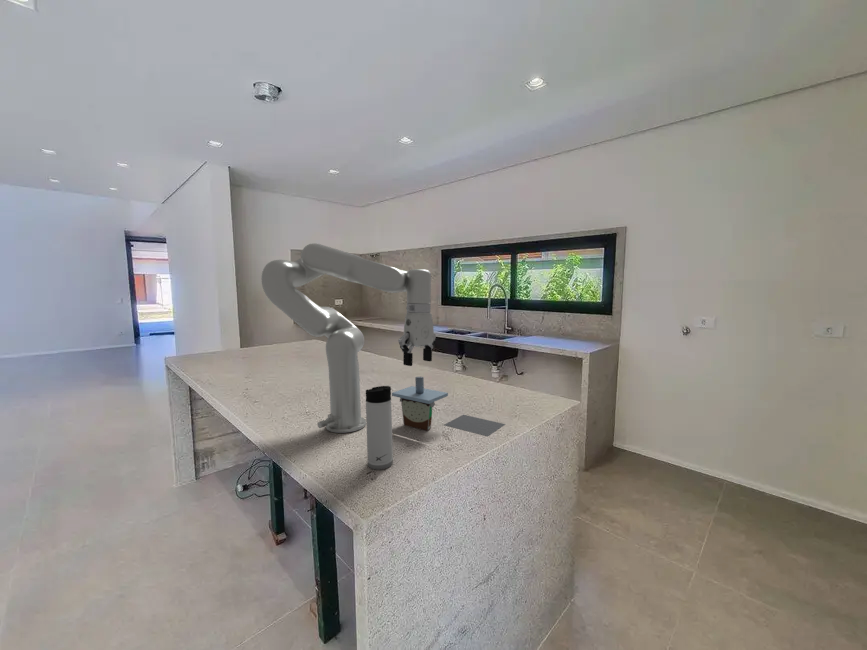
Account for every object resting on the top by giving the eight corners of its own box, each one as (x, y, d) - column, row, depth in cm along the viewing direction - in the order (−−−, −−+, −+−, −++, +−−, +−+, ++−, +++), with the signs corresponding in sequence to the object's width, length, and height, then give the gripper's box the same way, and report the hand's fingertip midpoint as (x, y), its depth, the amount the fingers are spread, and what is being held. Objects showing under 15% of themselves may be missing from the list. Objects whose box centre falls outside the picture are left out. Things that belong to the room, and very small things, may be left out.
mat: (487, 437, 106) (487, 436, 106) (443, 426, 115) (443, 424, 115) (505, 425, 115) (505, 424, 115) (463, 415, 125) (463, 414, 125)
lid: (428, 403, 106) (428, 384, 106) (391, 395, 115) (391, 377, 115) (448, 395, 114) (447, 377, 114) (411, 388, 123) (411, 371, 123)
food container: (442, 426, 115) (442, 396, 114) (432, 433, 110) (431, 401, 109) (411, 419, 122) (410, 390, 121) (400, 425, 116) (399, 395, 115)
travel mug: (383, 472, 86) (380, 391, 84) (362, 466, 89) (359, 387, 87) (398, 462, 91) (397, 385, 89) (379, 456, 95) (376, 382, 93)
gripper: (409, 310, 103) (409, 369, 105) (444, 309, 117) (443, 360, 118) (390, 309, 108) (390, 365, 109) (426, 308, 121) (425, 357, 123)
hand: (417, 363), depth 114 cm, fingers open, 9 cm apart
